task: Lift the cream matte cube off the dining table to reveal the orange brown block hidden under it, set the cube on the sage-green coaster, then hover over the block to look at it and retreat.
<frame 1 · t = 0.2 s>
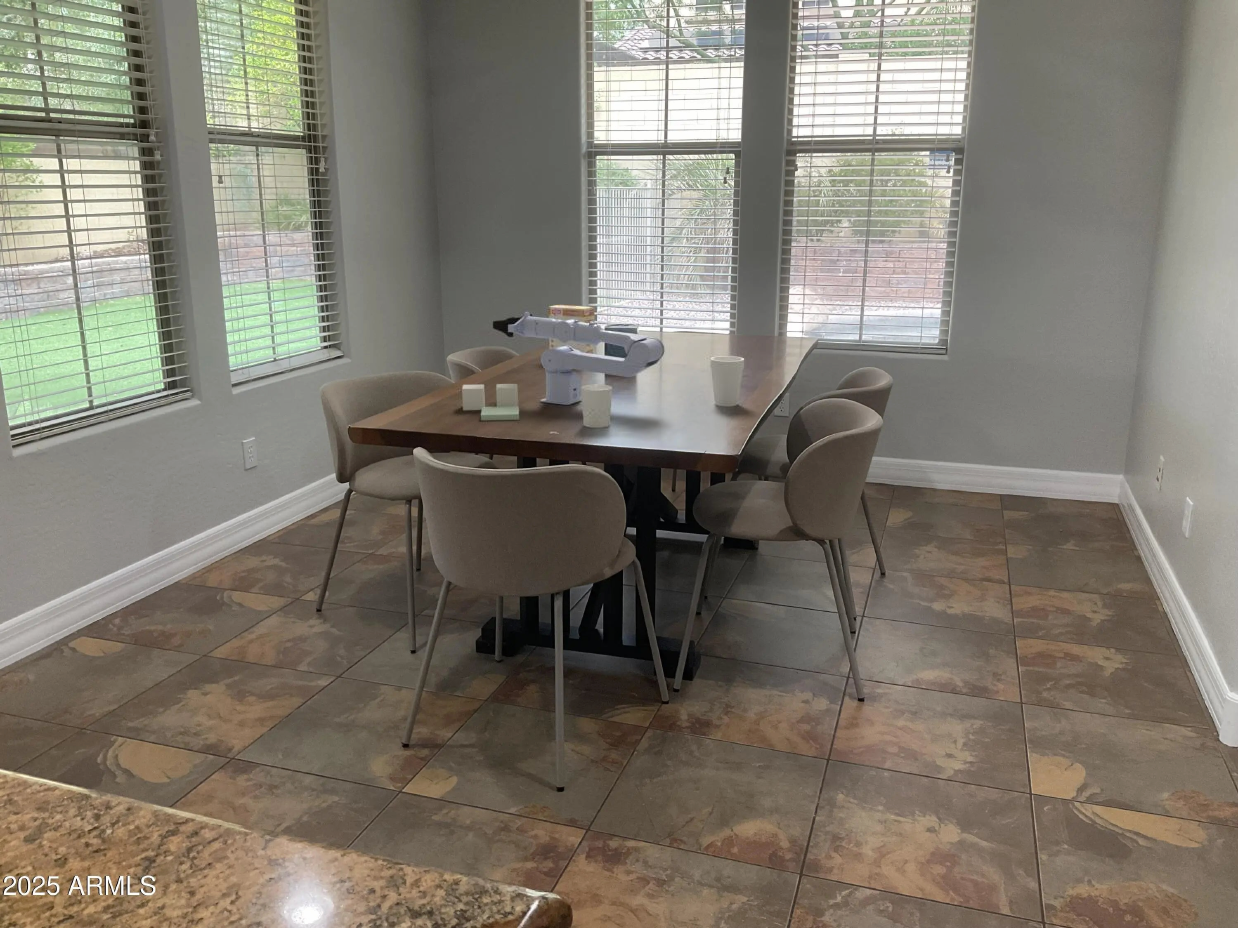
hand: (501, 323, 291), 21 cm above the table, tool horizontal, fingers open, 7 cm apart
cream matte cube: (507, 407, 280), on the table
coaster: (500, 415, 270), on the table
foam cup: (725, 404, 285), on the table
cover b: (474, 407, 279), on the table
coffeecake box: (572, 362, 352), on the table
orange brown block: (507, 400, 280), in the cream matte cube
white cup: (596, 426, 259), on the table
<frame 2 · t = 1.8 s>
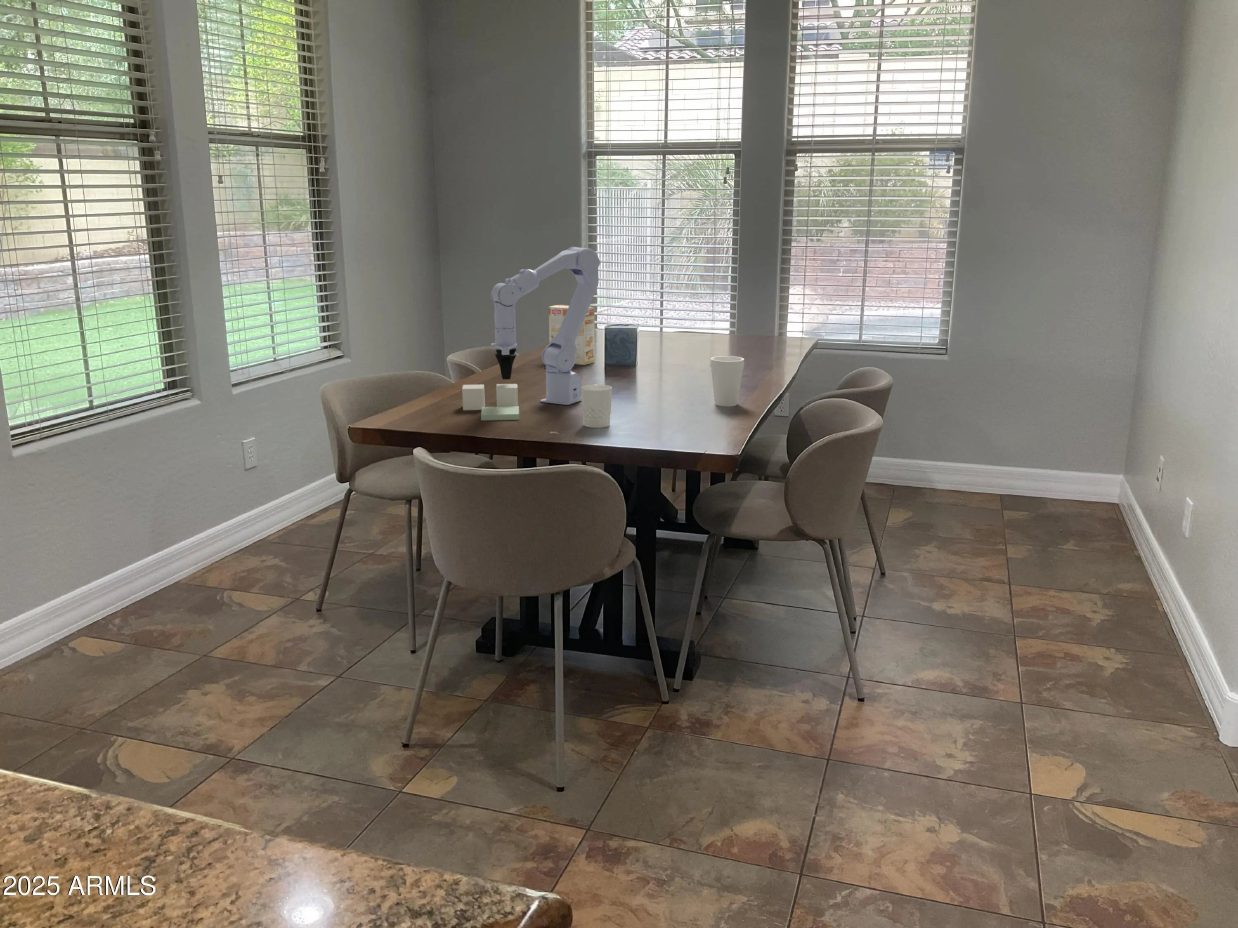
hand: (506, 376, 278), 9 cm above the table, tool pointing down, fingers open, 7 cm apart
nothing on the table moved.
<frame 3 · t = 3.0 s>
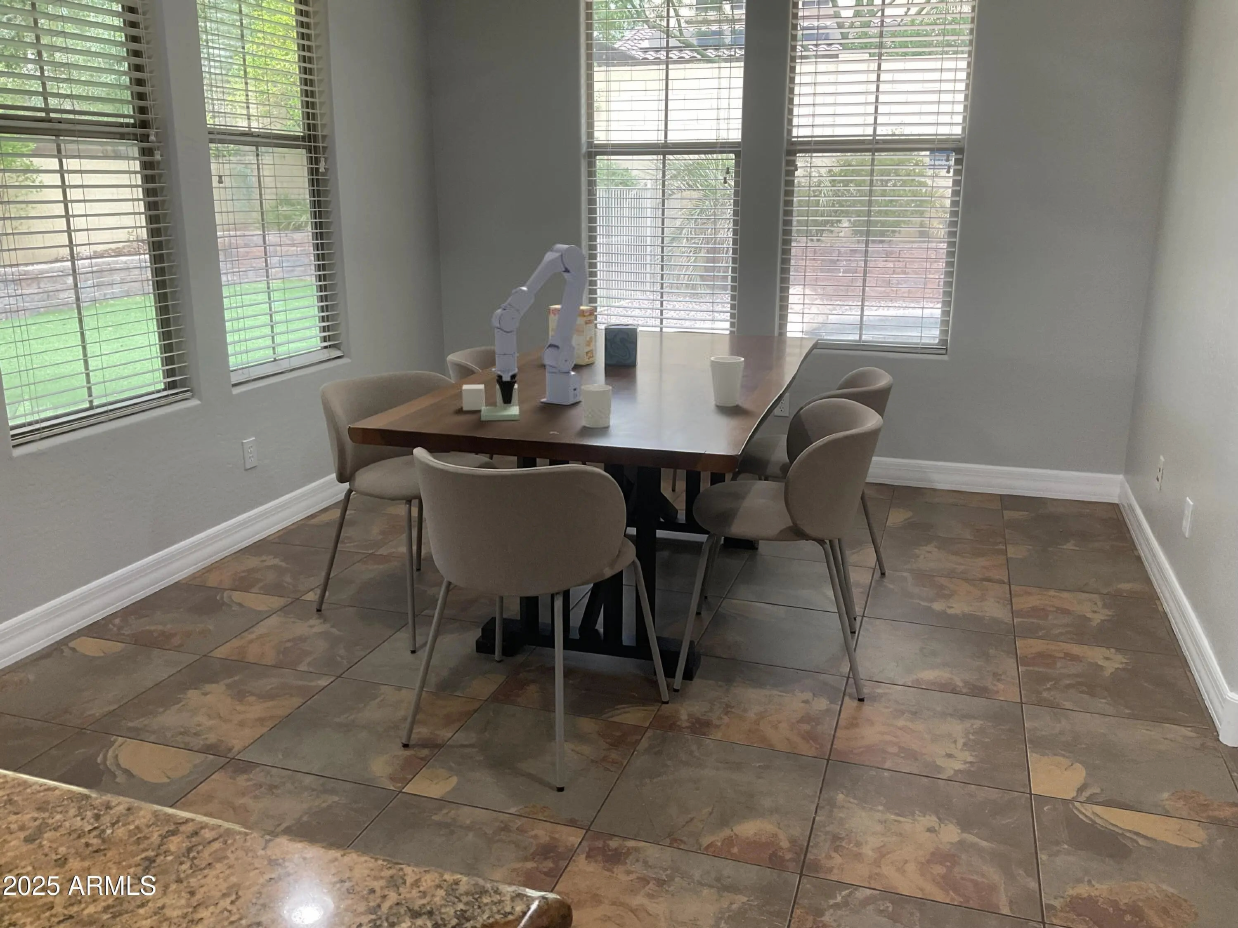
hand: (507, 401, 280), 2 cm above the table, tool pointing down, fingers closed on cream matte cube, 6 cm apart
cream matte cube: (507, 407, 280), on the table, touching gripper
everything else where it was.
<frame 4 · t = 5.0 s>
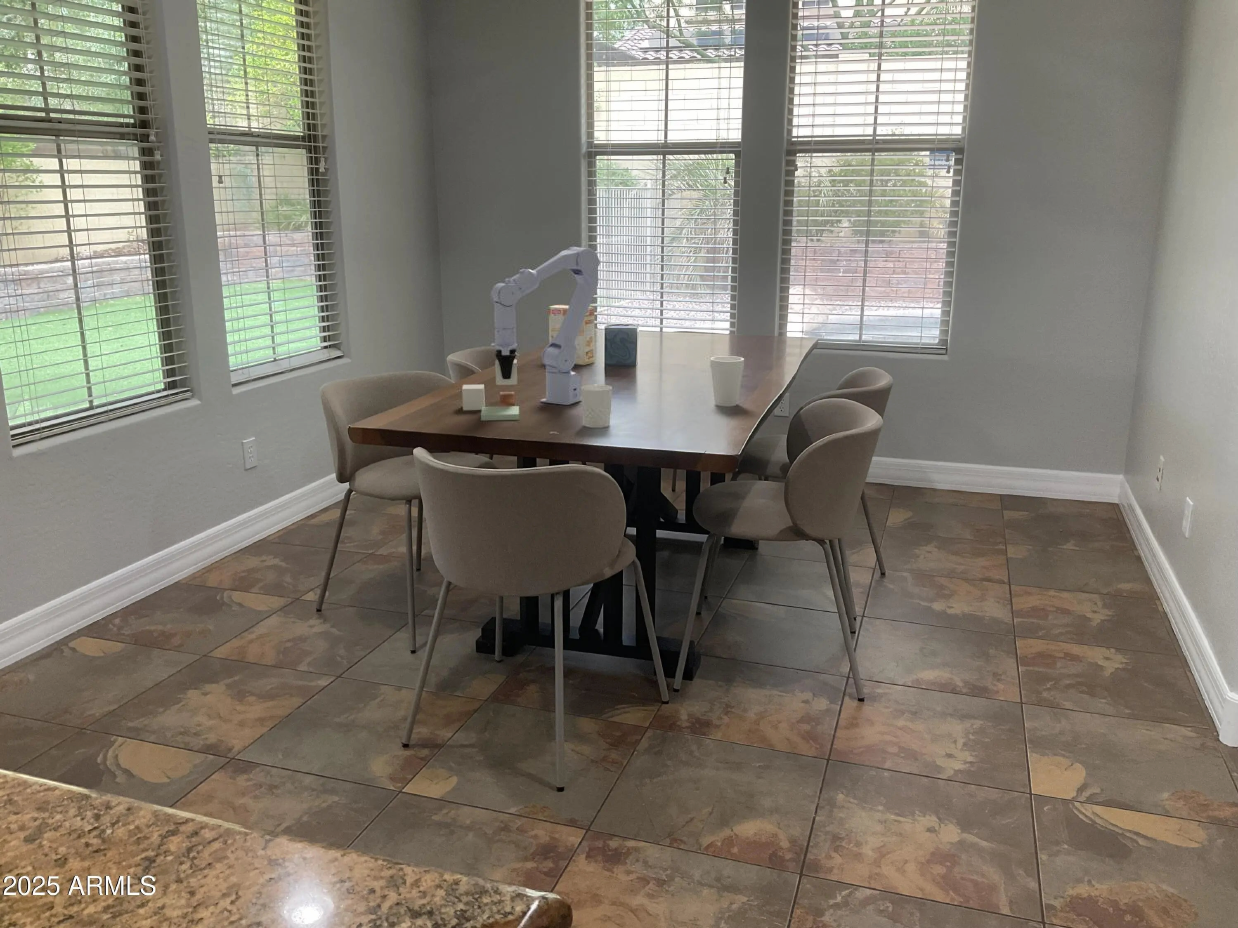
hand: (506, 376, 278), 9 cm above the table, tool pointing down, fingers closed on cream matte cube, 6 cm apart
cream matte cube: (506, 382, 278), point 7 cm above the table, touching gripper
everything else where it was.
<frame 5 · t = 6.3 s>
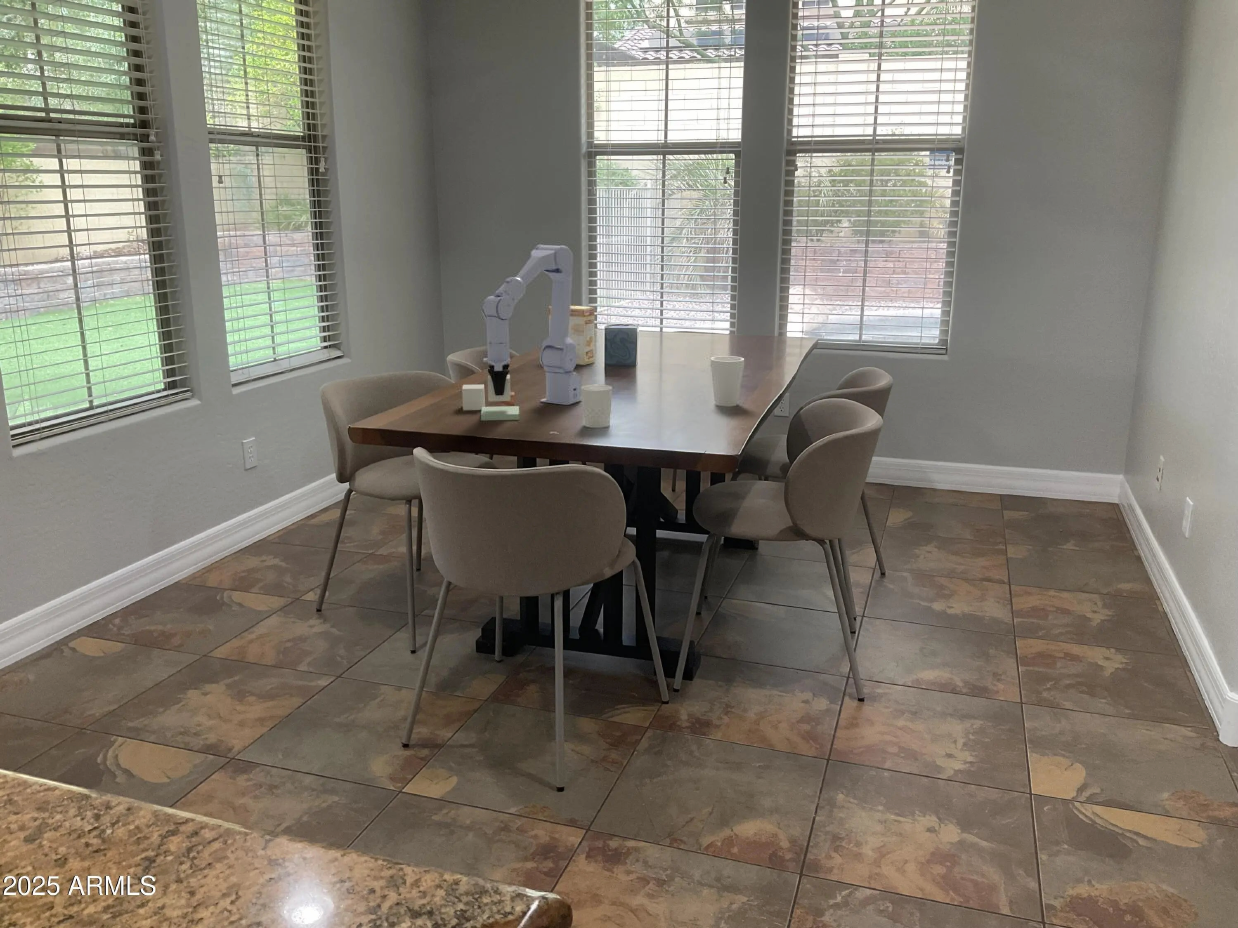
hand: (499, 392, 268), 6 cm above the table, tool pointing down, fingers closed on cream matte cube, 6 cm apart
cream matte cube: (499, 398, 268), point 5 cm above the table, touching gripper
everything else where it was.
when the fingers open (4 cm above the table, at t = 7.2 s): cream matte cube drops 1 cm, resting on coaster.
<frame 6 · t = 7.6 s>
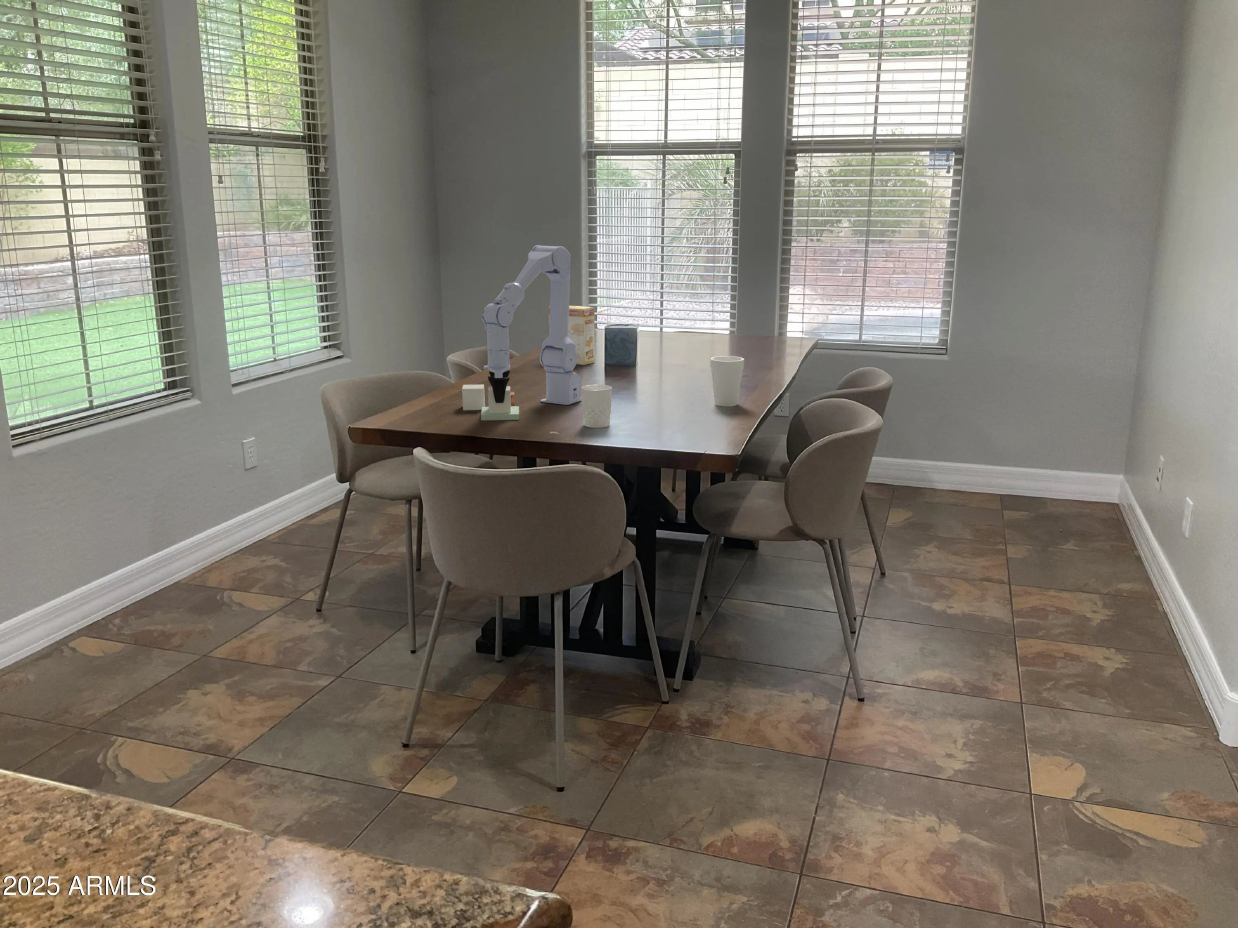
hand: (499, 399, 268), 4 cm above the table, tool pointing down, fingers open, 7 cm apart
cream matte cube: (499, 410, 269), point 1 cm above the table, touching coaster
everything else where it was.
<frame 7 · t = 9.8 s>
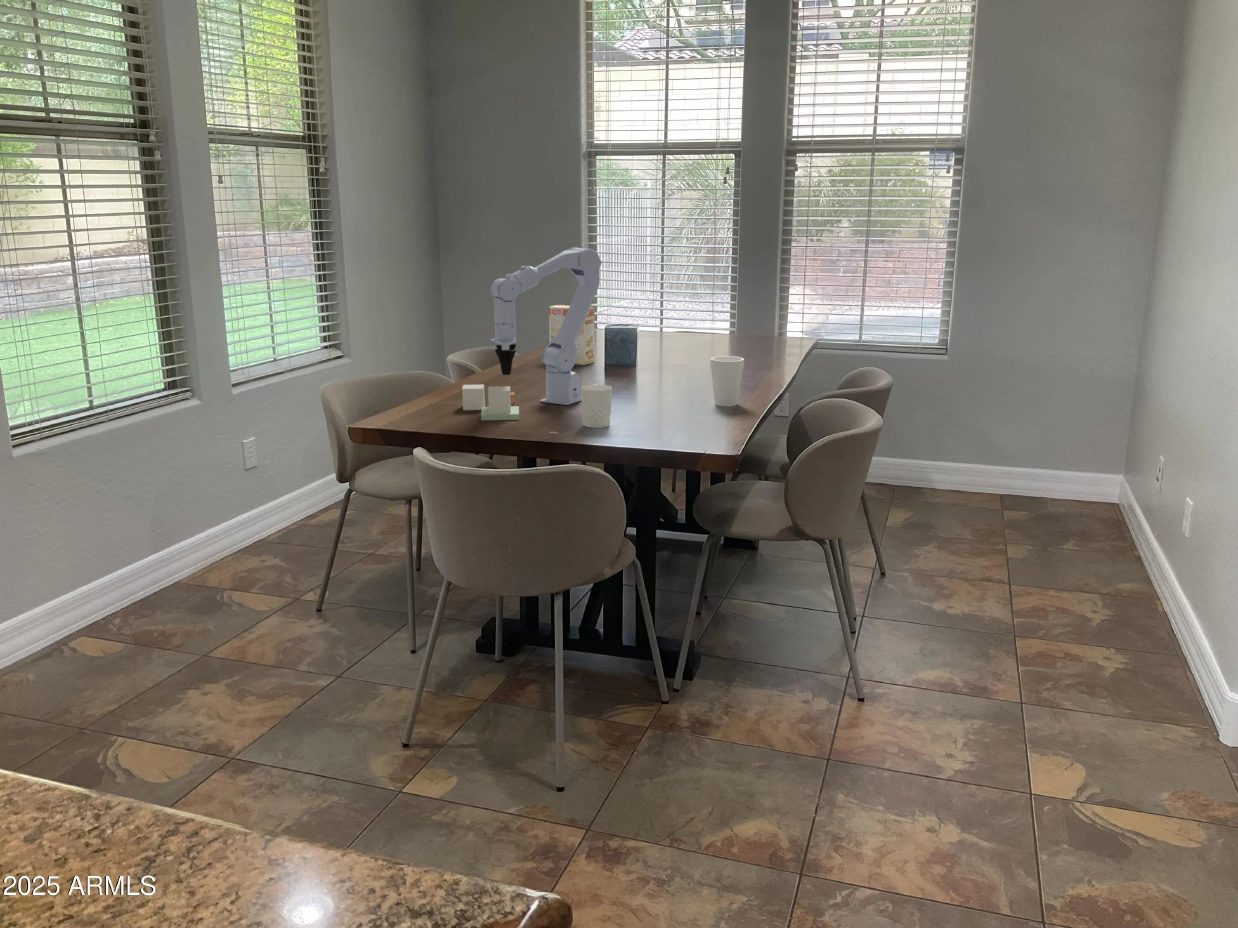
hand: (506, 372, 278), 10 cm above the table, tool pointing down, fingers open, 7 cm apart
nothing on the table moved.
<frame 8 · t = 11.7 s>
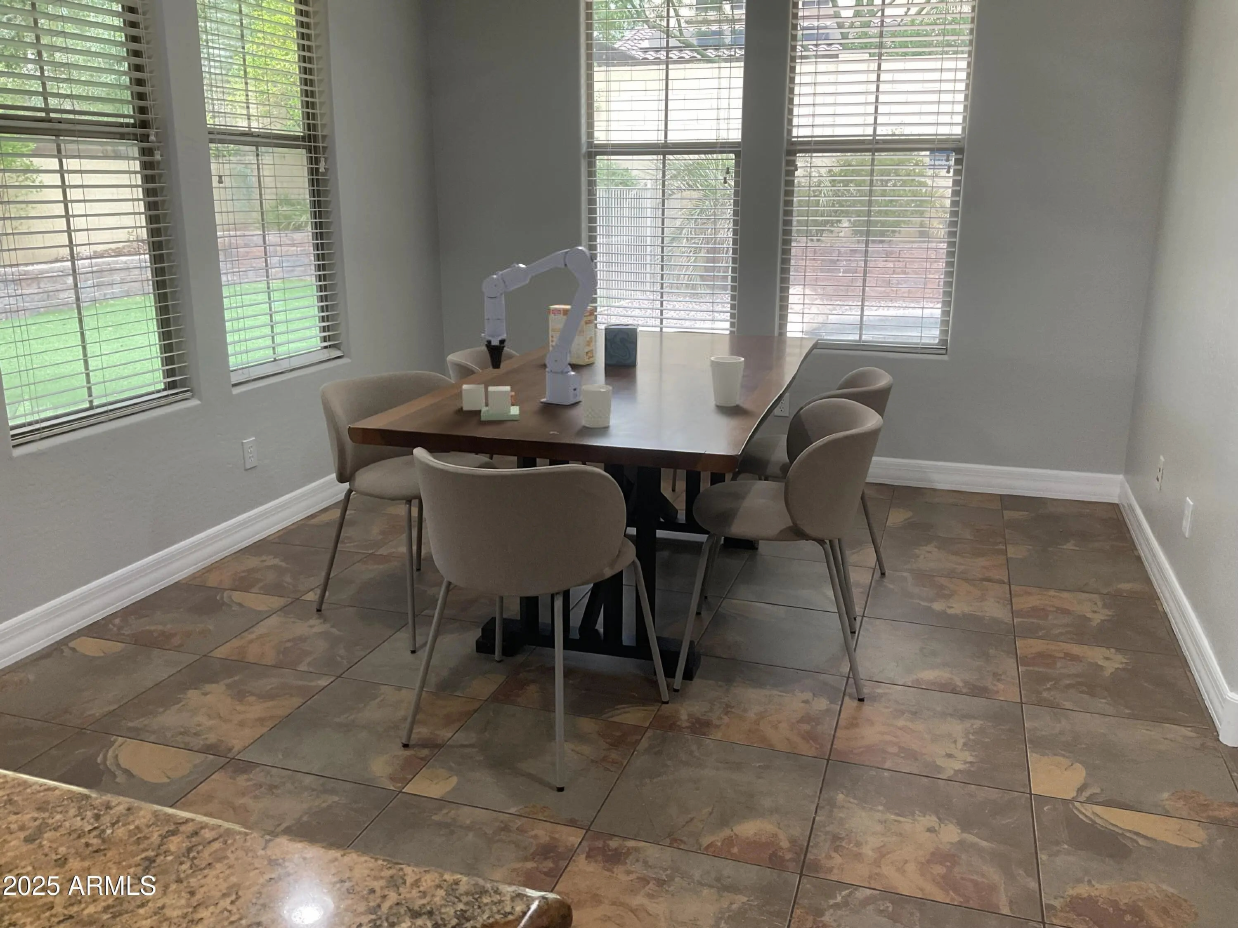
hand: (496, 366, 287), 10 cm above the table, tool pointing down, fingers open, 7 cm apart
nothing on the table moved.
at the end: cream matte cube 0.1 cm off-centre on the coaster, point 1.5 cm above the coaster's base; cream matte cube tilted 0°; cover b moved 0.0 cm from its start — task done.
